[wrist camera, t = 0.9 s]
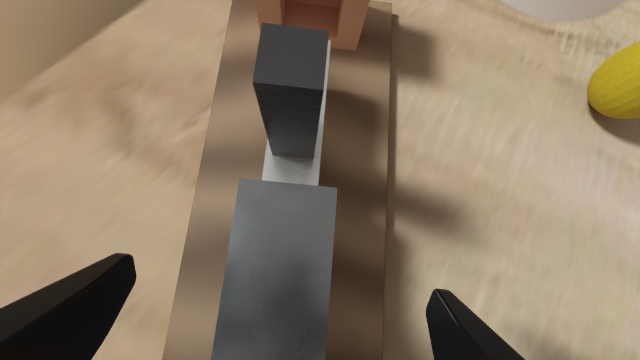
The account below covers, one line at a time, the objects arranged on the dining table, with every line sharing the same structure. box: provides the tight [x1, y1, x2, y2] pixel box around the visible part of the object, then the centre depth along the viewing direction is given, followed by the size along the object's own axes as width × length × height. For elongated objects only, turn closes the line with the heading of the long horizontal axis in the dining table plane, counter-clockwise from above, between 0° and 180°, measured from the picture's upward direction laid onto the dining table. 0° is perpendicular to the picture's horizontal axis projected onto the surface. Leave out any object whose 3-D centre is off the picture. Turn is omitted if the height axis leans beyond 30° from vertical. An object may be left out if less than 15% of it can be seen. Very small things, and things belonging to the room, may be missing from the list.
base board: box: [162, 0, 392, 360], centre depth 23 cm, size 34×14×1 cm, turn 175°
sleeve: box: [211, 178, 337, 360], centre depth 17 cm, size 14×5×6 cm, turn 175°
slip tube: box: [252, 23, 331, 186], centre depth 14 cm, size 23×3×11 cm, turn 175°
